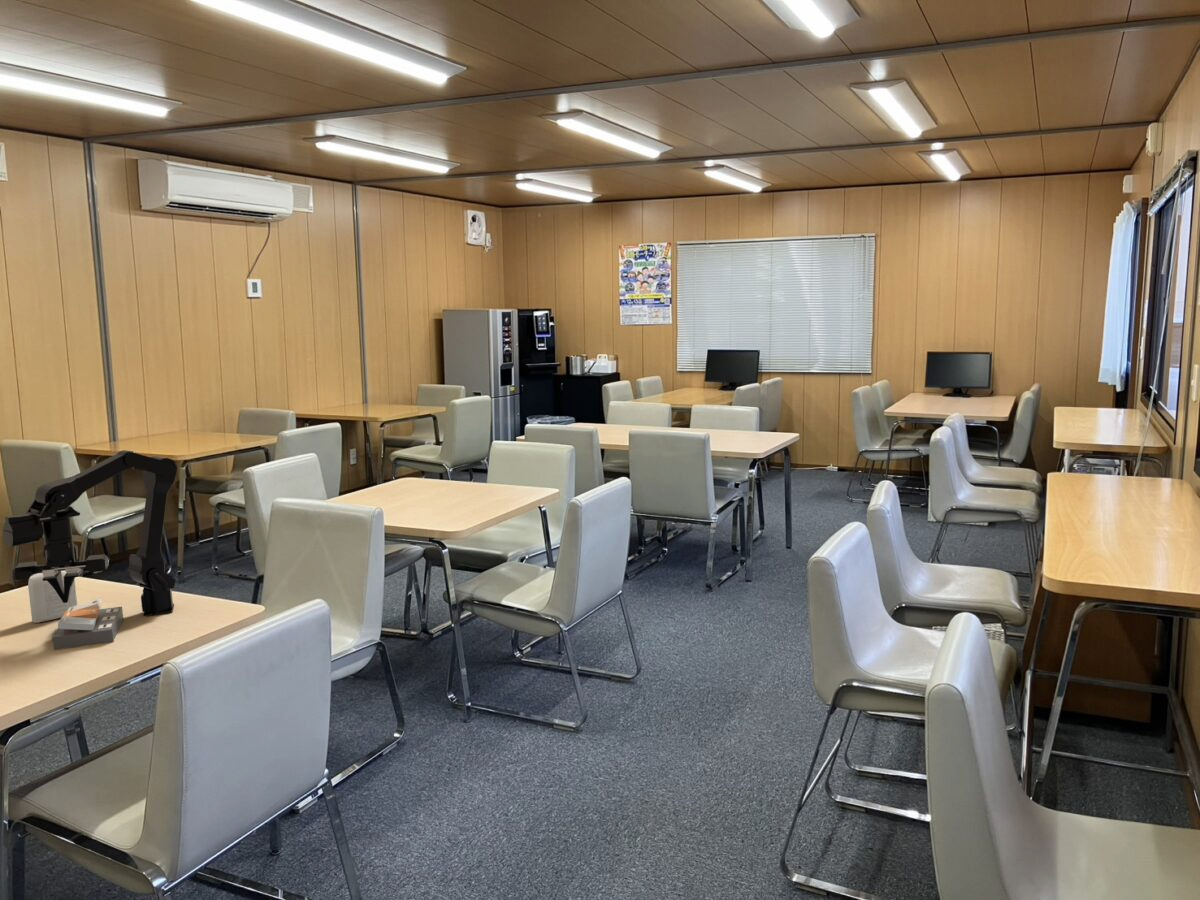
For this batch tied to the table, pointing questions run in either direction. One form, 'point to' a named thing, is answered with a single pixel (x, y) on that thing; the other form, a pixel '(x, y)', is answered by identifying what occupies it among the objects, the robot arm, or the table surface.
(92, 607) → the ivory rocker
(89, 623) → the grey-blue rocker
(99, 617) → the power strip
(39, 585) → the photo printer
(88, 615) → the orange box with knob
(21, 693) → the table surface
